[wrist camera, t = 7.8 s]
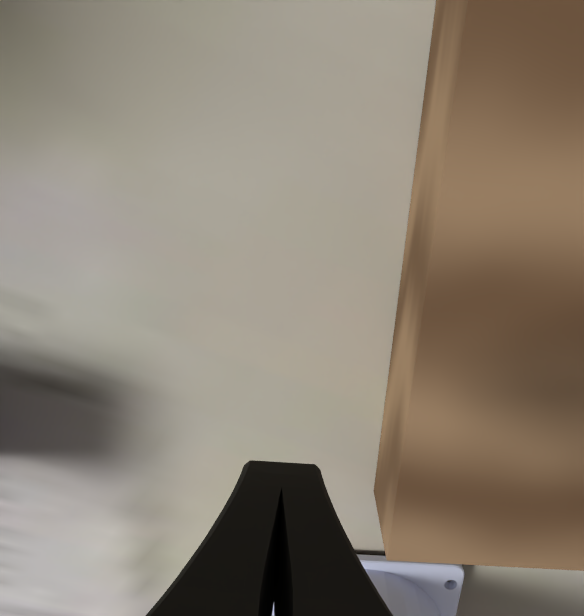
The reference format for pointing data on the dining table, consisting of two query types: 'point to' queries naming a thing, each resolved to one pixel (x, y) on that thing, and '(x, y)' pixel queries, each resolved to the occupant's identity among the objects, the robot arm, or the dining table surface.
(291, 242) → the dining table surface
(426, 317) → the board
